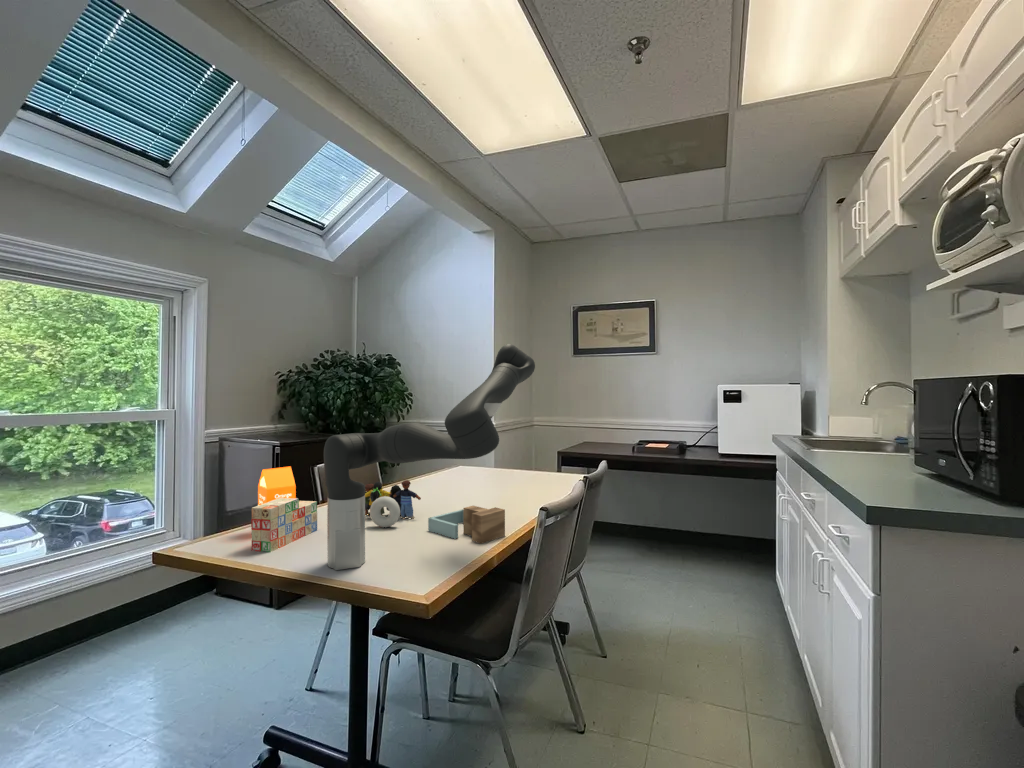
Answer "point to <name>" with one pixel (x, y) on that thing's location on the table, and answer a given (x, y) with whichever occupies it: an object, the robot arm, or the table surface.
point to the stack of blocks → (282, 522)
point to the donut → (376, 513)
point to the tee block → (484, 523)
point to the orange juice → (276, 484)
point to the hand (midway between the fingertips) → (455, 445)
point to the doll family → (396, 493)
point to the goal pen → (446, 523)
